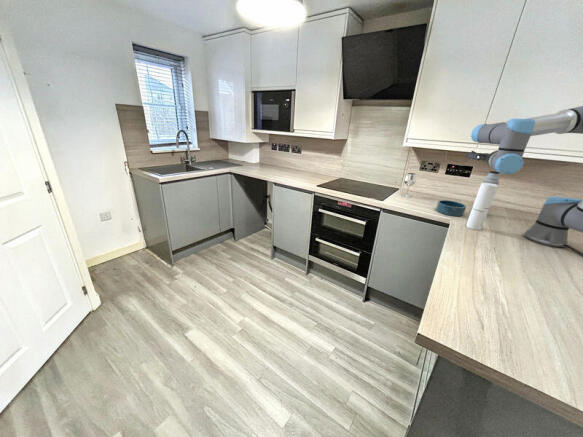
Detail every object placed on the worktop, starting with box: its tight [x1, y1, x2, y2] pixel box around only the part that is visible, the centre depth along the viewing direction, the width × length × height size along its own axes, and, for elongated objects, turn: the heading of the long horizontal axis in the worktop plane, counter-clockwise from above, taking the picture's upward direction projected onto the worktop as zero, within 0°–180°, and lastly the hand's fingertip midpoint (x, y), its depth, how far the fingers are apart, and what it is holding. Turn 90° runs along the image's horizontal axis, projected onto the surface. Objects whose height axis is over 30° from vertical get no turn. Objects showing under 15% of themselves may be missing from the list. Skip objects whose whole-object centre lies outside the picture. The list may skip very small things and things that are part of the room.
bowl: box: [435, 199, 467, 217], centre depth 154 cm, size 16×16×6 cm
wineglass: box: [401, 172, 417, 198], centre depth 185 cm, size 8×8×18 cm
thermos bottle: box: [481, 170, 500, 186], centre depth 150 cm, size 8×8×28 cm
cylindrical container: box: [465, 182, 499, 231], centre depth 129 cm, size 7×7×25 cm
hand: (488, 155), depth 116 cm, fingers open, 13 cm apart
